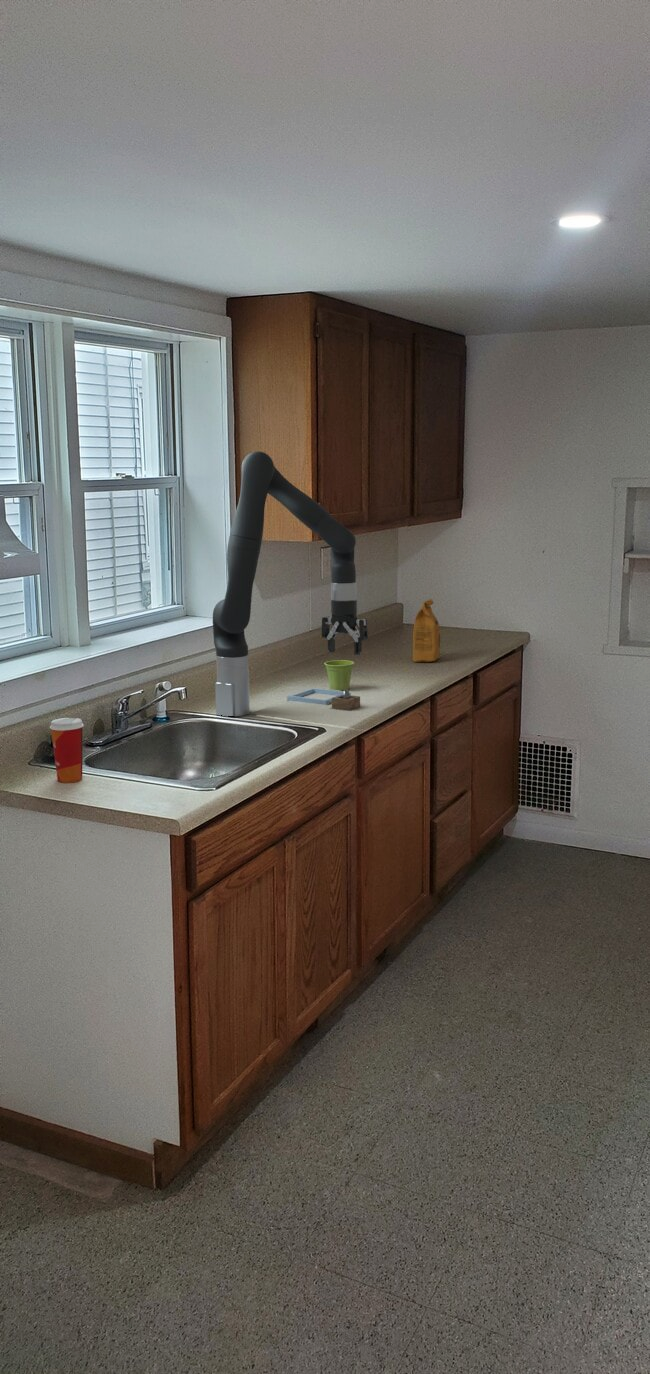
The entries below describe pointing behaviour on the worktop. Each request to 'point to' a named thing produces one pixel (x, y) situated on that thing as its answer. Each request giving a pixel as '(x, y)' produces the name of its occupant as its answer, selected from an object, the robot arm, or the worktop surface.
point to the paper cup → (67, 748)
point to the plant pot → (339, 674)
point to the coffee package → (426, 635)
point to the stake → (346, 696)
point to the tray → (299, 698)
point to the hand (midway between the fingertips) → (344, 653)
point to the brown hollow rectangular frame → (346, 702)
